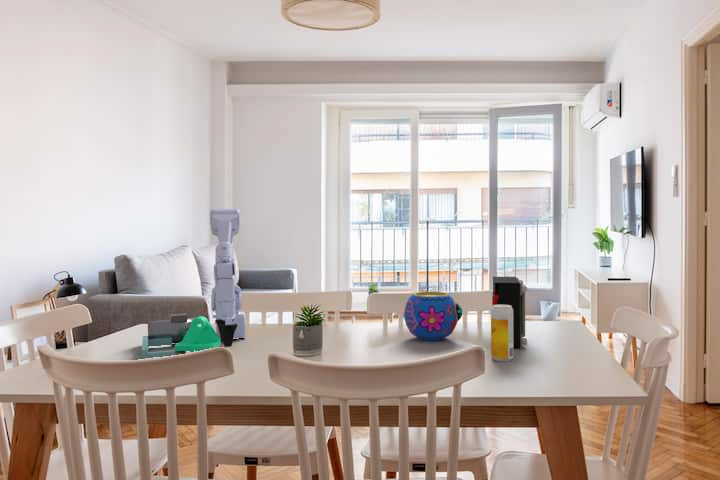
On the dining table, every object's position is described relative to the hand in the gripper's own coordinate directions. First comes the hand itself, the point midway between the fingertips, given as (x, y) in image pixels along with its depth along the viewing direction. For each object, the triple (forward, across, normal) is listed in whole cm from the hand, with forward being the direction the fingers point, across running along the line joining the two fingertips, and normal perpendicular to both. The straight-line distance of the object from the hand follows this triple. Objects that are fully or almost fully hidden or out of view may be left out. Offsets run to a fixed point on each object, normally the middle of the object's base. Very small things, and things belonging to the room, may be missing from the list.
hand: (226, 344), depth 175 cm
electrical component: (+2, +28, +84) cm, 89 cm away
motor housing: (+1, -14, -15) cm, 21 cm away
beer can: (+2, +45, +70) cm, 83 cm away
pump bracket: (+1, 0, -20) cm, 20 cm away
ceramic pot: (+2, +14, +64) cm, 66 cm away
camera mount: (+2, 0, -9) cm, 9 cm away
